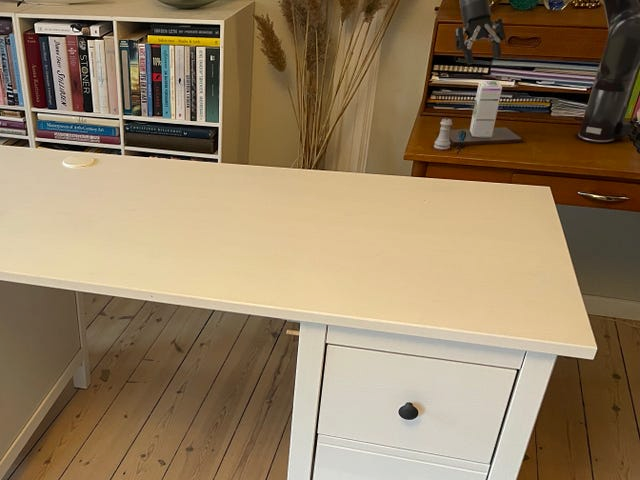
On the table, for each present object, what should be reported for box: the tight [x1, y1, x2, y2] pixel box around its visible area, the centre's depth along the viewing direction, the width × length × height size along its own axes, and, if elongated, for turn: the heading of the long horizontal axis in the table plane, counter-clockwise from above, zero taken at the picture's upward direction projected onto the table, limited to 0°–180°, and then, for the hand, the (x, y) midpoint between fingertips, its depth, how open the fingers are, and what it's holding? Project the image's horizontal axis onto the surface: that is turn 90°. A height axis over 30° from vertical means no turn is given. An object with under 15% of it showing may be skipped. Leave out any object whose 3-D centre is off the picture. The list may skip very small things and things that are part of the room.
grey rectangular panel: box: [449, 126, 523, 147], centre depth 217 cm, size 20×11×1 cm, turn 93°
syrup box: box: [469, 80, 503, 137], centre depth 212 cm, size 6×6×14 cm
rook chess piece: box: [433, 118, 453, 151], centre depth 209 cm, size 4×4×8 cm
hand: (483, 60), depth 214 cm, fingers open, 8 cm apart
